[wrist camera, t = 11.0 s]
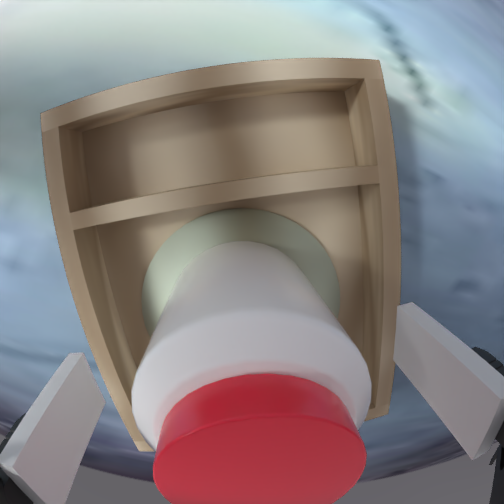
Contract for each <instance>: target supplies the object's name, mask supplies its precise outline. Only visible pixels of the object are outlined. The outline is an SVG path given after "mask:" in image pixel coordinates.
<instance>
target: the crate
mask: <svg viewBox="0 0 504 504" xmlns="http://www.w3.org/2000/svg"><path fill="white" fill-rule="evenodd" d="M40 114H41V131H42V144H43V154H44V163H45V171H46V179H47V186H48V192H49V198H50V204H51V210H52V215H53V220H54V225H55V230H56V235H57V239H58V243H59V248H60V252H61V256H62V260H63V264H64V268H65V271H66V275H67V279H68V282H69V286H70V289H71V292H72V296H73V299H74V302H75V305H76V308H77V312H78V315H79V318H80V320H81V323H82V326H83V329H84V332H85V335H86V337H87V340H88V343H89V345H90V348H91V351H92V353H93V356H94V358H95V361H96V363H97V366H98V368H99V370H100V373H101V375H102V377H103V380H104V382H105V384H106V386H107V389H108V391H109V393H110V395H111V397H112V400H113V402H114V404H115V406H116V408H117V410H118V412H119V414H120V416H121V418H122V420H123V422H124V424H125V426H126V428H127V430H128V432H129V433H130V435H131V437H132V439H133V441H134V443H135V444H136V446H137V448H138V450H139V451H154V450H153V449H152V448H151V447H150V446H149V445H148V444H147V443H146V441H145V440H144V438H143V436H142V435H141V433H140V431H139V430H138V428H137V426H136V423H135V419H134V416H133V413H132V395H131V390H132V386H133V383H134V379H135V375H136V372H137V369H138V366H139V364H140V362H141V359H142V357H143V354H144V352H145V350H146V347H147V345H148V342H149V340H150V338H151V335H152V333H153V331H154V328H155V326H156V324H157V322H158V319H159V317H160V315H161V312H162V310H163V308H164V306H165V303H166V301H167V299H168V297H169V295H170V292H171V290H172V288H173V286H174V284H175V281H176V280H177V278H178V276H179V275H180V273H181V272H182V270H183V268H184V267H185V266H186V265H187V264H188V263H189V262H190V261H191V260H192V259H193V258H194V257H196V256H197V255H199V254H200V253H202V252H203V251H205V250H207V249H209V248H211V247H214V246H216V245H218V244H222V243H227V242H232V241H252V242H258V243H263V244H266V245H269V246H271V247H274V248H276V249H278V250H280V251H281V252H283V253H284V254H286V255H287V256H289V257H290V258H291V259H292V260H293V261H294V262H295V263H296V264H297V265H298V266H299V267H300V268H301V270H302V271H303V272H304V274H305V275H306V276H307V278H308V279H309V280H310V282H311V283H312V285H313V286H314V287H315V289H316V290H317V291H318V293H319V294H320V296H321V297H322V298H323V300H324V301H325V302H326V304H327V305H328V307H329V308H330V309H331V311H332V312H333V314H334V315H335V316H336V318H337V319H338V321H339V322H340V323H341V325H342V326H343V328H344V329H345V330H346V332H347V333H348V335H349V336H350V338H351V339H352V340H353V342H354V343H355V345H356V346H357V348H358V350H359V351H360V353H361V355H362V356H363V358H364V360H365V362H366V363H367V367H368V371H369V374H370V378H371V383H372V387H371V402H370V406H369V409H368V413H367V416H366V418H365V420H364V421H367V420H371V419H374V418H377V417H380V416H384V415H387V414H388V412H389V406H390V399H391V393H392V386H393V378H394V370H395V362H394V361H393V356H394V345H395V333H396V319H397V306H398V305H400V293H401V225H400V204H399V189H398V177H397V166H396V157H395V148H394V140H393V132H392V125H391V119H390V112H389V106H388V100H387V95H386V90H385V84H384V79H383V74H382V70H381V65H380V61H379V60H370V59H351V58H295V59H276V60H262V61H251V62H241V63H232V64H224V65H217V66H210V67H204V68H198V69H192V70H186V71H181V72H176V73H171V74H166V75H162V76H157V77H153V78H148V79H144V80H140V81H136V82H132V83H129V84H125V85H121V86H118V87H114V88H111V89H107V90H104V91H101V92H98V93H95V94H91V95H88V96H85V97H82V98H80V99H77V100H74V101H71V102H68V103H66V104H63V105H60V106H58V107H55V108H52V109H50V110H47V111H45V112H42V113H40Z"/></svg>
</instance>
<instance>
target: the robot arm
mask: <svg viewBox="0 0 504 504" xmlns="http://www.w3.org/2000/svg"><path fill="white" fill-rule="evenodd" d="M393 361H394V362H395V363H396V364H397V365H398V367H399V368H400V369H401V370H402V372H403V373H404V374H405V375H406V376H407V378H408V379H409V380H410V381H411V383H412V384H413V385H414V386H415V388H416V389H417V390H418V391H419V393H420V394H421V395H422V396H423V398H424V399H425V400H426V401H427V403H428V404H429V405H430V406H431V408H432V409H433V410H434V411H435V413H436V414H437V415H438V416H439V418H440V419H441V420H442V422H443V423H444V424H445V425H446V427H447V428H448V429H449V431H450V432H451V433H452V434H453V436H454V437H455V438H456V440H457V441H458V442H459V444H460V445H461V446H462V448H463V449H464V450H465V452H466V453H467V454H468V456H469V457H470V458H471V460H474V459H476V458H478V457H479V456H481V455H483V454H484V453H486V452H488V451H489V450H490V448H491V446H492V444H493V442H494V440H495V439H496V440H497V441H498V442H499V443H500V445H499V447H498V448H497V450H496V452H495V454H494V455H493V458H492V459H491V461H490V464H489V465H492V464H493V462H494V460H495V459H496V466H495V474H494V481H493V487H492V493H491V498H490V503H489V504H504V366H503V364H502V363H501V362H500V361H498V360H496V358H495V357H493V356H492V355H491V354H490V353H489V352H487V351H485V350H482V349H480V348H477V347H474V348H472V349H471V348H470V347H468V346H467V345H466V344H465V343H463V342H462V341H461V340H460V339H459V338H457V337H456V336H455V335H454V334H452V333H451V332H450V331H449V330H447V329H446V328H445V327H444V326H442V325H441V324H440V323H439V322H437V321H436V320H435V319H434V318H432V317H431V316H430V315H429V314H427V313H426V312H425V311H423V310H422V309H421V308H420V307H418V306H417V305H416V304H414V303H413V302H410V303H406V304H402V305H398V306H397V319H396V333H395V345H394V356H393ZM105 403H106V402H105V400H104V398H103V396H102V394H101V391H100V389H99V387H98V385H97V383H96V381H95V378H94V376H93V374H92V372H91V369H90V367H89V365H88V362H87V360H86V357H85V355H84V353H69V354H68V356H67V357H66V358H65V360H64V361H63V362H62V364H61V365H60V366H59V368H58V369H57V371H56V372H55V373H54V375H53V376H52V377H51V379H50V380H49V382H48V383H47V384H46V386H45V387H44V389H43V390H42V391H41V393H40V394H39V396H38V397H37V399H36V400H35V402H34V403H33V404H32V406H31V407H30V409H29V410H28V412H27V413H25V414H24V415H23V416H21V417H20V418H19V419H18V420H17V421H16V422H15V423H14V425H13V426H12V428H11V429H10V432H8V434H7V435H6V439H4V440H3V442H2V443H1V445H0V504H65V502H66V499H67V496H68V494H69V491H70V488H71V486H72V483H73V480H74V477H75V475H76V472H77V470H78V467H79V465H80V462H81V460H82V457H83V455H84V452H85V450H86V447H87V445H88V443H89V440H90V438H91V435H92V433H93V431H94V428H95V426H96V424H97V421H98V419H99V417H100V414H101V412H102V410H103V407H104V405H105Z"/></svg>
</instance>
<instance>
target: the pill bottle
mask: <svg viewBox="0 0 504 504" xmlns="http://www.w3.org/2000/svg"><path fill="white" fill-rule="evenodd" d="M371 387H372V383H371V378H370V374H369V371H368V367H367V363H366V362H365V360H364V358H363V356H362V355H361V353H360V351H359V350H358V348H357V346H356V345H355V343H354V342H353V340H352V339H351V338H350V336H349V335H348V333H347V332H346V330H345V329H344V328H343V326H342V325H341V323H340V322H339V321H338V319H337V318H336V316H335V315H334V314H333V312H332V311H331V309H330V308H329V307H328V305H327V304H326V302H325V301H324V300H323V298H322V297H321V296H320V294H319V293H318V291H317V290H316V289H315V287H314V286H313V285H312V283H311V282H310V280H309V279H308V278H307V276H306V275H305V274H304V272H303V271H302V270H301V268H300V267H299V266H298V265H297V264H296V263H295V262H294V261H293V260H292V259H291V258H290V257H289V256H287V255H286V254H284V253H283V252H281V251H280V250H278V249H276V248H274V247H271V246H269V245H266V244H263V243H258V242H252V241H232V242H227V243H222V244H218V245H216V246H214V247H211V248H209V249H207V250H205V251H203V252H202V253H200V254H199V255H197V256H196V257H194V258H193V259H192V260H191V261H190V262H189V263H188V264H187V265H186V266H185V267H184V268H183V270H182V272H181V273H180V275H179V276H178V278H177V280H176V281H175V284H174V286H173V288H172V290H171V292H170V295H169V297H168V299H167V301H166V303H165V306H164V308H163V310H162V312H161V315H160V317H159V319H158V322H157V324H156V326H155V328H154V331H153V333H152V335H151V338H150V340H149V342H148V345H147V347H146V350H145V352H144V354H143V357H142V359H141V362H140V364H139V366H138V369H137V372H136V375H135V379H134V383H133V386H132V390H131V395H132V413H133V416H134V419H135V423H136V426H137V428H138V430H139V431H140V433H141V435H142V436H143V438H144V440H145V441H146V443H147V444H148V445H149V446H150V447H151V448H152V449H153V450H154V451H155V452H156V454H155V458H154V463H153V479H154V481H155V484H156V486H157V489H158V490H159V491H160V492H161V494H162V495H163V496H164V498H165V499H167V500H168V501H169V502H170V503H172V504H332V503H333V502H335V501H336V500H338V499H339V498H341V497H342V496H344V495H345V494H346V493H347V492H348V491H349V490H350V489H351V488H352V487H353V486H354V485H355V484H356V482H357V481H358V480H359V478H360V477H361V475H362V473H363V471H364V468H365V466H366V457H367V452H366V449H365V446H364V442H363V440H362V438H361V436H360V434H359V432H358V431H359V429H360V427H361V426H362V424H363V422H364V420H365V418H366V416H367V413H368V409H369V406H370V402H371Z"/></svg>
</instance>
